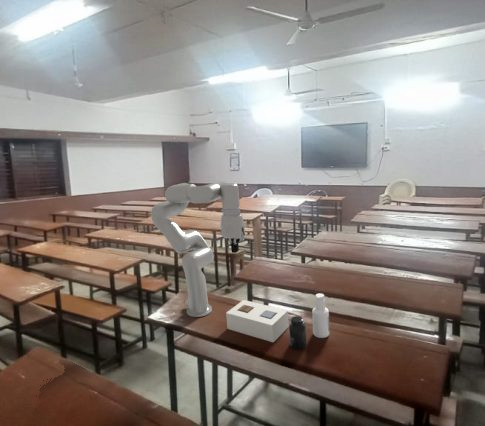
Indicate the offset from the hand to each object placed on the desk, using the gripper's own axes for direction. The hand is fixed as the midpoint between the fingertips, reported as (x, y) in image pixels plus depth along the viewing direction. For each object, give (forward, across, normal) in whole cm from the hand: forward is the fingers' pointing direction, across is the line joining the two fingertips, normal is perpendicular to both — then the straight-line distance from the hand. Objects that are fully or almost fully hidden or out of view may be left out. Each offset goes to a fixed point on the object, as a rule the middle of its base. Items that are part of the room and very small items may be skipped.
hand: (235, 251), depth 164 cm
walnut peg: (+33, +3, 0) cm, 33 cm away
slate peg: (+33, +15, 0) cm, 37 cm away
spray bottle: (+35, +36, +8) cm, 51 cm away
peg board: (+35, +9, 0) cm, 36 cm away
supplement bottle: (+35, +31, -4) cm, 47 cm away
